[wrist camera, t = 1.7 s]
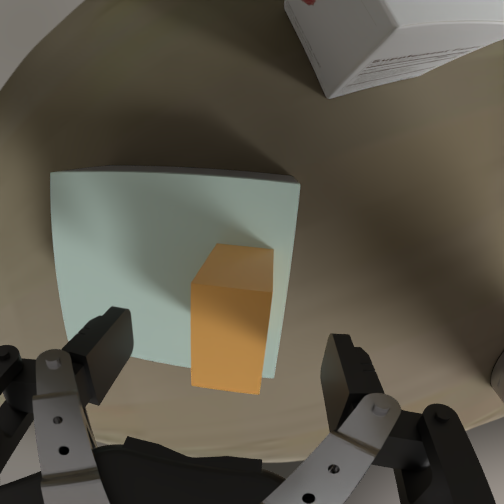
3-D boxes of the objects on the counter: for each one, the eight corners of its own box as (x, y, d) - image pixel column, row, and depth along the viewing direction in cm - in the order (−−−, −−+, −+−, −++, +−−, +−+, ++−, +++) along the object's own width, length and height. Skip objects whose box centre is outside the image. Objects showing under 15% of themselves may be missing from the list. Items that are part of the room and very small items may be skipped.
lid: (297, 181, 18) (313, 197, 10) (274, 358, 21) (271, 443, 14) (69, 169, 18) (-13, 183, 11) (82, 326, 22) (27, 382, 14)
